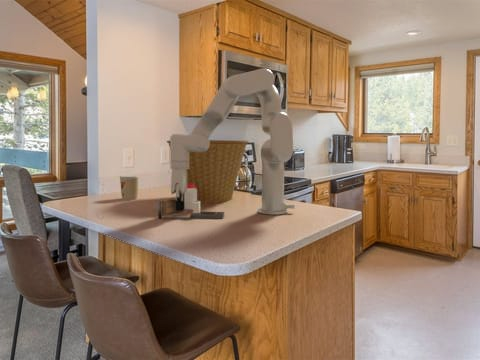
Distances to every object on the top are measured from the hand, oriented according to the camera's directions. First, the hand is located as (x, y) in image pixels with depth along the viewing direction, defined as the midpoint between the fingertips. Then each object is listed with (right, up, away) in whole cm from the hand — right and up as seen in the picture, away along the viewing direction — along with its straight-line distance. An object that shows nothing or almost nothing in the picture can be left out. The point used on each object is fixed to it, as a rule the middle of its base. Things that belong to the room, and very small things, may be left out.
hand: (180, 210), depth 155 cm
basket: (+8, +2, +46) cm, 47 cm away
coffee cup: (-33, +2, +43) cm, 54 cm away
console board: (+11, -3, +1) cm, 11 cm away
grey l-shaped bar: (-3, -3, -3) cm, 5 cm away
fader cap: (+6, -1, +1) cm, 7 cm away
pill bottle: (+1, -1, +20) cm, 20 cm away
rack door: (-3, -2, +1) cm, 4 cm away
